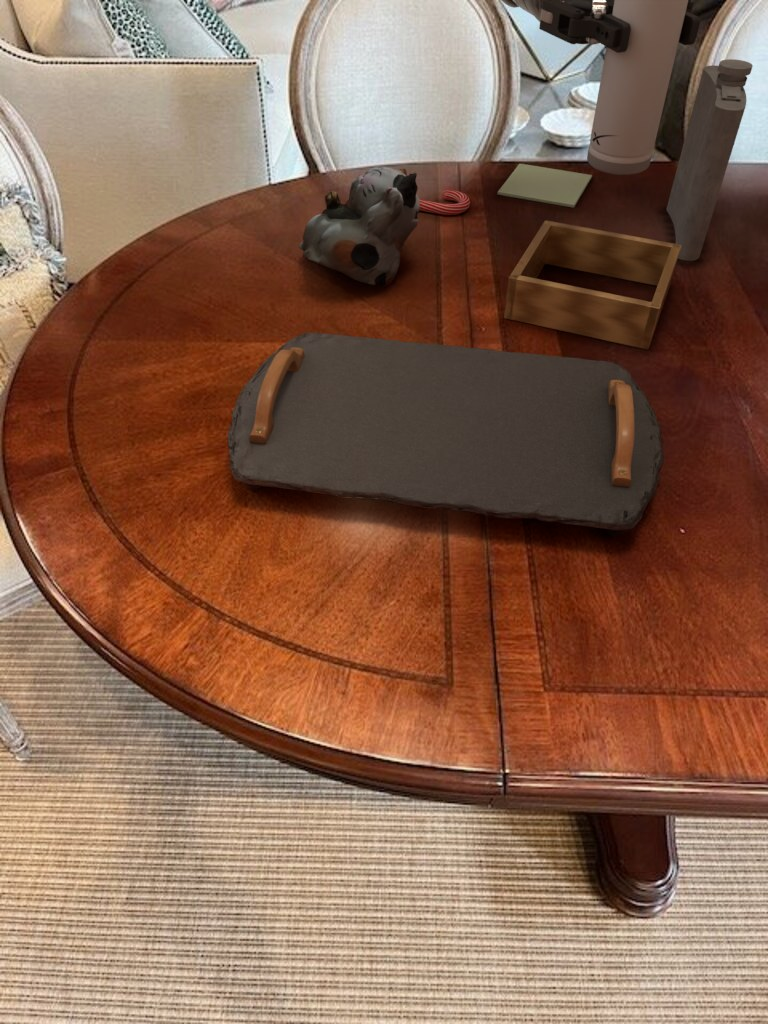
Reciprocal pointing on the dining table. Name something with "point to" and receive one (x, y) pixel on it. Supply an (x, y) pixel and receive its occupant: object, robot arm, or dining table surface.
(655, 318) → the wooden box
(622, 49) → the robot arm
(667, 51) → the travel mug
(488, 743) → the dining table surface
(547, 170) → the placemat
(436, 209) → the candy cane
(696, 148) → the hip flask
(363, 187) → the lucky cat figurine
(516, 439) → the serving tray
